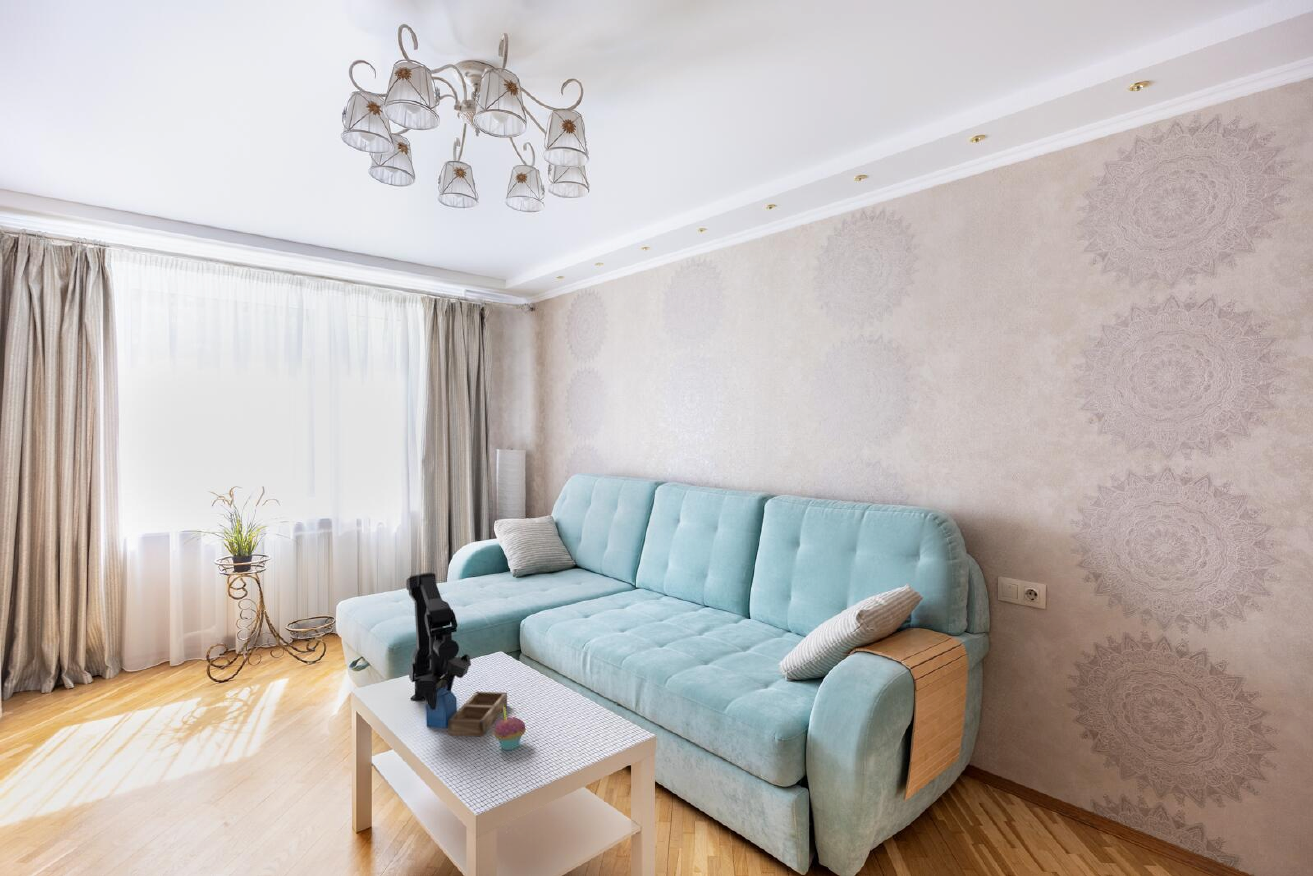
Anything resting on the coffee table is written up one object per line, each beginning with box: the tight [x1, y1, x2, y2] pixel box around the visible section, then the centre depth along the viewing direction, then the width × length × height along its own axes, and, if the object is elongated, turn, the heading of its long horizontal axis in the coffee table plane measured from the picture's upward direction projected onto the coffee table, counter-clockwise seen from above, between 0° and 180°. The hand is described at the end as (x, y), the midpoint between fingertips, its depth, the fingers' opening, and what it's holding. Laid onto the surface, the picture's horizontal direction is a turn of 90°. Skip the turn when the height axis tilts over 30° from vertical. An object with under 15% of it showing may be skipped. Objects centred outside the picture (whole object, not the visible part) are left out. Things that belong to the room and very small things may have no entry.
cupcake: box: [493, 705, 527, 751], centre depth 167 cm, size 9×8×12 cm
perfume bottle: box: [425, 680, 458, 729], centre depth 181 cm, size 6×6×12 cm
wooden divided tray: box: [448, 691, 508, 737], centre depth 182 cm, size 20×10×4 cm, turn 173°
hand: (440, 702), depth 180 cm, fingers open, 9 cm apart
